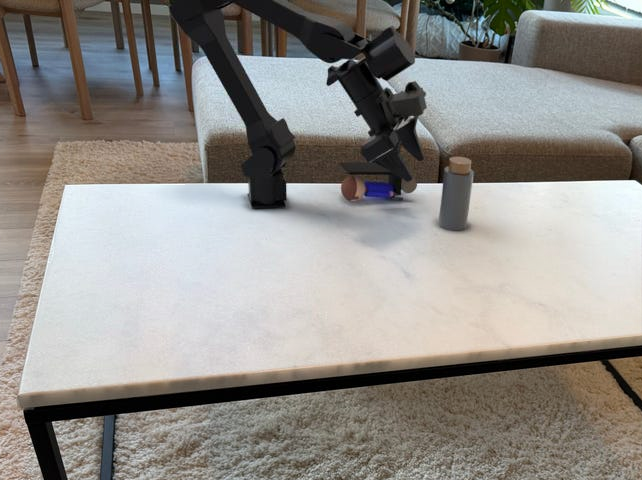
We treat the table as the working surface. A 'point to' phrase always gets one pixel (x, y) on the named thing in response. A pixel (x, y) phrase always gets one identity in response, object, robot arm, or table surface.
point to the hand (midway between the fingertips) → (416, 170)
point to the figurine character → (357, 188)
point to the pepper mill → (456, 194)
